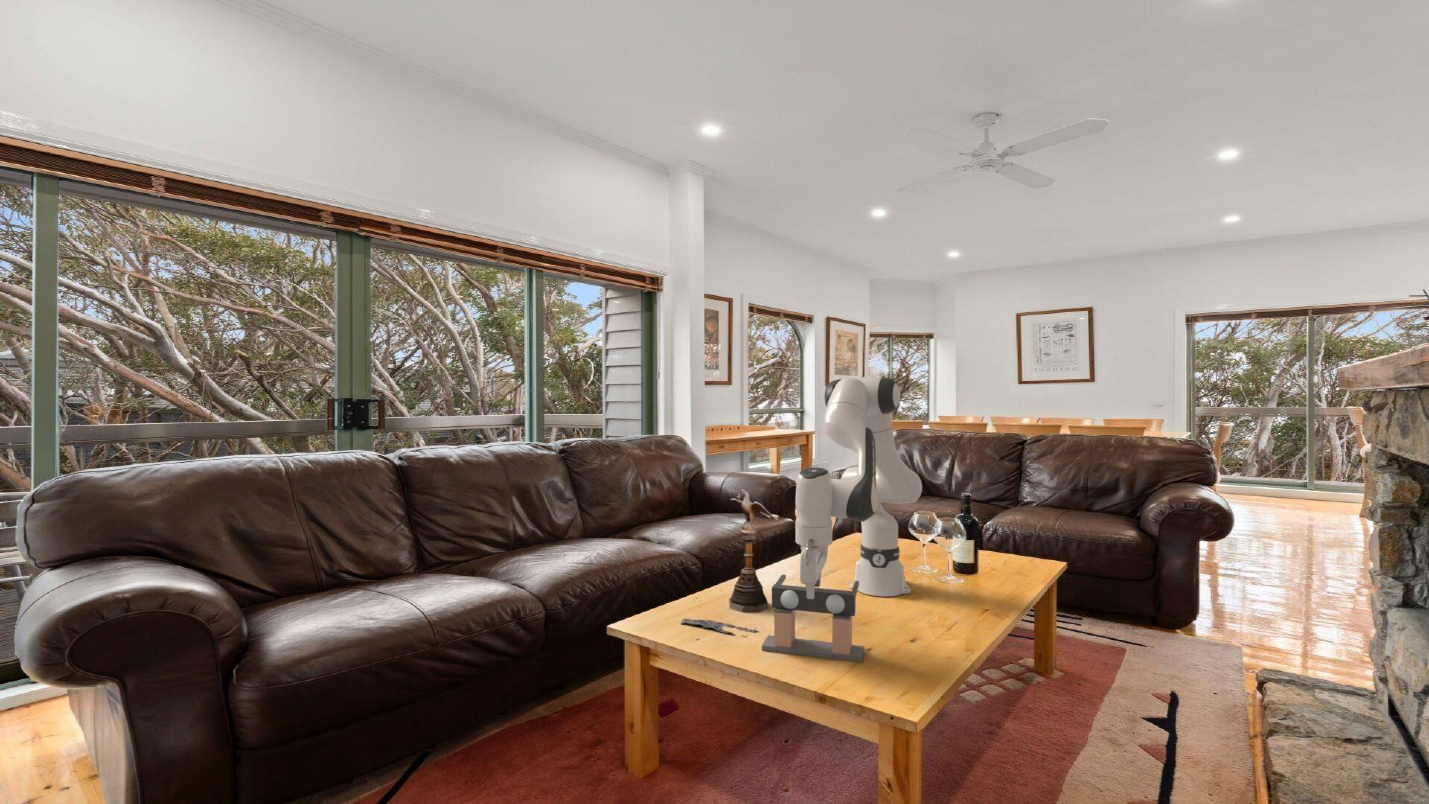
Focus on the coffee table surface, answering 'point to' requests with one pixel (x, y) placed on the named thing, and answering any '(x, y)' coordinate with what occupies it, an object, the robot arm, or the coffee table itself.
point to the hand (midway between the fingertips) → (813, 591)
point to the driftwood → (716, 625)
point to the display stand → (832, 650)
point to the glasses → (822, 602)
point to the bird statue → (749, 560)
